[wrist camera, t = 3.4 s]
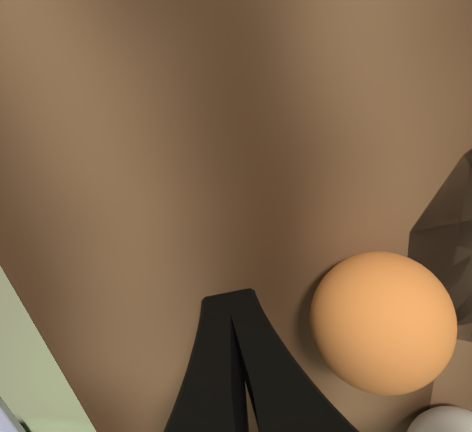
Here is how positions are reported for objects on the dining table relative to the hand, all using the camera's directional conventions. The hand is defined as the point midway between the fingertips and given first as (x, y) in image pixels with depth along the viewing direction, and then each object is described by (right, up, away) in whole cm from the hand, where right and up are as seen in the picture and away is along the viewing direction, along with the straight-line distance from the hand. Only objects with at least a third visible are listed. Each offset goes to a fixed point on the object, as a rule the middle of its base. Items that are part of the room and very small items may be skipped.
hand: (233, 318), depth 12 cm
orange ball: (+4, 0, -1) cm, 4 cm away
